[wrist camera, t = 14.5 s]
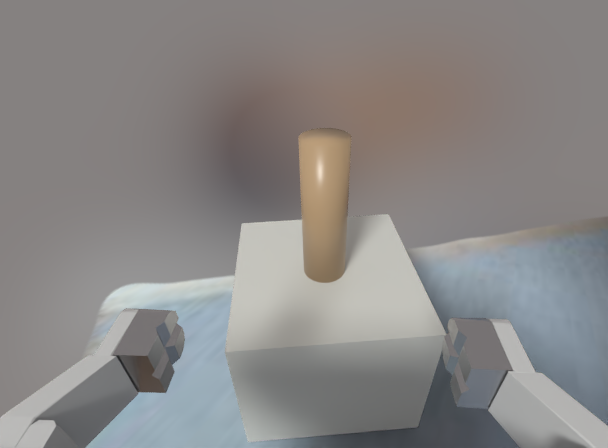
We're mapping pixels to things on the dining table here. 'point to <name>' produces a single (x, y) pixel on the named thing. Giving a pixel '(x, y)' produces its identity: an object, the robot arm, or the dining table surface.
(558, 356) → the dining table surface
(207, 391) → the dining table surface
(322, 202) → the white handled block
